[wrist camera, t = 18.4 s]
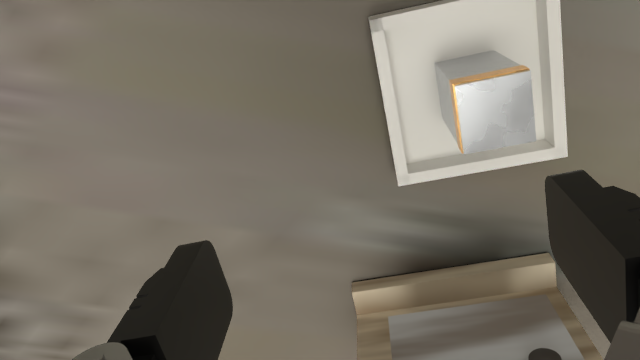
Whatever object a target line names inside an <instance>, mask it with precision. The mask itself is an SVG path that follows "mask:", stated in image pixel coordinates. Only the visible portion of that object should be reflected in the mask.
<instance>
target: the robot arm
mask: <svg viewBox="0 0 640 360" xmlns="http://www.w3.org/2000/svg"><path fill="white" fill-rule="evenodd" d="M545 193H546V205H547V217H548V229H549V239H550V245H551V249H552V252H553V255H554V258H555V260H556V262H557V264H558V265H559V267H560V268H561V270H562V271H563V273H564V274H565V276H566V277H567V279H568V280H569V282H570V283H571V285H572V286H573V288H574V289H575V291H576V292H577V294H578V295H579V297H580V298H581V300H582V301H583V303H584V304H585V306H586V307H587V309H588V310H589V312H590V313H591V315H592V316H593V318H594V319H595V320H596V322H597V323H598V325H599V326H600V328H601V329H602V331H603V332H604V334H605V335H606V337H607V338H608V340H609V341H610V343H611V345H610V347H609V349H608V352H607V354H606V357H605V359H604V360H640V198H639V197H638V196H637V195H636V194H634V193H631V192H628V191H625V190H623V189H620V188H617V187H615V186H610V187H604V188H603V187H602V186H600V185H599V184H598V183H597V182H596V181H595V180H594V179H593V178H592V177H591V176H590V175H588V174H587V173H586V172H585V171H584V170H577V171H572V172H567V173H562V174H556V175H551V176H547V177H546V180H545ZM232 311H233V306H232V297H231V293H230V290H229V287H228V285H227V282H226V279H225V277H224V274H223V271H222V268H221V266H220V263H219V260H218V257H217V255H216V252H215V249H214V247H213V245H212V244H211V242H210V241H207V240H206V241H201V242H195V243H190V244H185V245H180V246H178V247H177V248H176V249H175V251H174V252H173V254H172V256H171V257H170V259H169V261H168V262H167V264H166V266H165V267H164V268H161V269H160V270H159V271H157V272H156V273H155V274H154V275H153V276H152V277H151V278H149V279H148V280H147V281H146V282H145V283H144V285H143V286H142V288H141V290H140V291H139V293H138V294H137V298H136V299H134V301H133V302H132V304H131V305H130V307H129V310H127V312H126V313H125V315H124V316H123V318H122V320H121V321H120V323H119V324H118V326H117V327H116V329H115V331H114V332H113V334H112V335H111V337H110V338H109V340H108V342H107V343H104V344H100V345H97V346H95V347H92V348H90V349H88V350H86V351H84V352H82V353H81V354H79V355H77V356H76V357H75V358H73V359H72V360H218V357H219V354H220V351H221V348H222V345H223V342H224V339H225V336H226V333H227V330H228V327H229V324H230V321H231V318H232Z"/></svg>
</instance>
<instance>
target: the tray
mask: <svg viewBox="0 0 640 360" xmlns="http://www.w3.org/2000/svg"><path fill="white" fill-rule="evenodd" d="M368 19H369V25H370V30H371V36H372V42H373V47H374V53H375V58H376V64H377V70H378V75H379V81H380V87H381V92H382V98H383V104H384V109H385V115H386V120H387V126H388V132H389V137H390V143H391V149H392V154H393V160H394V166H395V171H396V176H397V181H398V186H403V185H409V184H415V183H420V182H426V181H432V180H437V179H443V178H449V177H455V176H460V175H466V174H472V173H477V172H483V171H489V170H495V169H500V168H506V167H512V166H517V165H523V164H529V163H534V162H540V161H546V160H552V159H557V158H563V157H568V152H567V132H566V112H565V92H564V72H563V52H562V32H561V12H560V0H441V1H437V2H432V3H428V4H423V5H419V6H414V7H410V8H405V9H401V10H396V11H392V12H387V13H383V14H378V15H374V16H369V17H368ZM492 50H494V51H496V52H498V53H500V54H502V55H503V56H505V57H507V58H509V59H510V60H512V61H514V62H516V63H518V64H519V65H524V66H526V67H528V68H529V70H530V71H531V80H532V93H533V105H534V118H535V131H536V141H535V142H530V143H524V144H519V145H514V146H508V147H503V148H497V149H492V150H487V151H481V152H476V153H471V154H465V155H464V154H463V153H461V151H460V149H459V148H458V144H457V142H456V141H455V139H454V137H453V136H452V134H451V132H450V130H449V129H448V127H447V125H446V124H445V122H444V120H443V119H442V113H441V106H440V100H439V93H438V86H437V79H436V72H435V65H434V63H435V62H440V61H445V60H449V59H454V58H459V57H463V56H468V55H473V54H478V53H482V52H487V51H492Z"/></svg>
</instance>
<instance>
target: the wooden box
mask: <svg viewBox="0 0 640 360" xmlns="http://www.w3.org/2000/svg"><path fill="white" fill-rule="evenodd" d="M352 296H353V300H354V304H355V309H356V313H357V360H603V358H602V357H601V355H600V354H599V352H598V351H597V349H596V347H595V346H594V344H593V343H592V341H591V340H590V338H589V337H588V335H587V333H586V332H585V330H584V329H583V327H582V326H581V324H580V322H579V321H578V319H577V318H576V316H575V315H574V313H573V312H572V310H571V308H570V307H569V305H568V304H567V302H566V301H565V299H564V297H563V296H562V294H561V293H560V291H559V290H558V288H557V283H556V268H555V262H554V260H553V259H552V257H551V256H550V254H549V253H544V254H537V255H531V256H524V257H517V258H511V259H504V260H498V261H491V262H484V263H478V264H471V265H464V266H458V267H451V268H445V269H438V270H431V271H425V272H418V273H412V274H405V275H398V276H392V277H385V278H379V279H372V280H365V281H359V282H352Z"/></svg>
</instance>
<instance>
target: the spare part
mask: <svg viewBox="0 0 640 360" xmlns="http://www.w3.org/2000/svg"><path fill="white" fill-rule="evenodd" d="M434 65H435V72H436V79H437V86H438V93H439V100H440V106H441V113H442V119H443V120H444V122H445V124H446V125H447V127H448V129H449V130H450V132H451V134H452V136H453V137H454V139H455V141H456V142H457V144H458V148H459V149H460V151H461V153H463V154H464V155H465V154H471V153H476V152H481V151H487V150H492V149H497V148H503V147H508V146H514V145H519V144H524V143H530V142H535V141H536V131H535V118H534V105H533V93H532V80H531V71H530V70H529V68H528V67H526V66H524V65H519V64H518V63H516V62H514V61H512V60H510V59H509V58H507V57H505V56H503V55H502V54H500V53H498V52H496V51H494V50H492V51H487V52H482V53H478V54H473V55H468V56H463V57H459V58H454V59H449V60H445V61H440V62H435V63H434Z"/></svg>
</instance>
